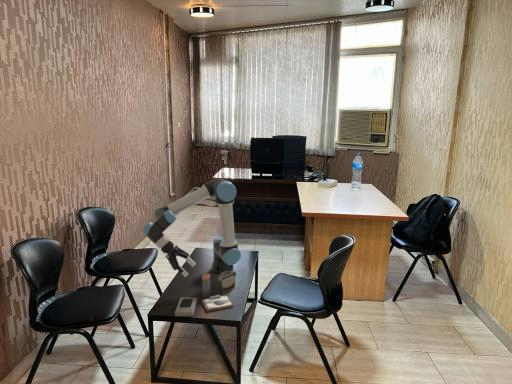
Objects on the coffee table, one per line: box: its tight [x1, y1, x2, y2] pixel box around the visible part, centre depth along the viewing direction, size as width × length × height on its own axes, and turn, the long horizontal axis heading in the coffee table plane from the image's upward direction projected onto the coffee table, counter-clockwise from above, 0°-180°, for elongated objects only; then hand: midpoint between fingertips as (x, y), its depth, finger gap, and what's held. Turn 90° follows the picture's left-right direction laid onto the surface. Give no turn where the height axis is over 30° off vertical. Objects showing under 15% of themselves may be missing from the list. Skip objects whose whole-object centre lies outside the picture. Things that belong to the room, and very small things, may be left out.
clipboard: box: [201, 294, 234, 313], centre depth 203 cm, size 12×15×2 cm
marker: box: [201, 273, 211, 298], centre depth 212 cm, size 5×5×13 cm
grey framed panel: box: [174, 297, 198, 317], centre depth 199 cm, size 10×4×15 cm
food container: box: [218, 270, 238, 294], centre depth 220 cm, size 12×6×10 cm, turn 134°
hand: (190, 270), depth 210 cm, fingers open, 13 cm apart
